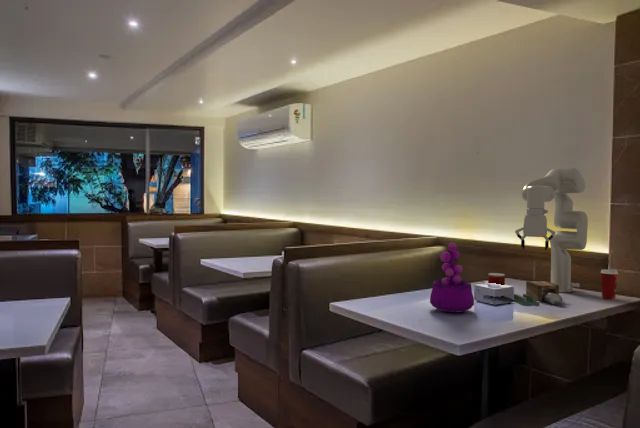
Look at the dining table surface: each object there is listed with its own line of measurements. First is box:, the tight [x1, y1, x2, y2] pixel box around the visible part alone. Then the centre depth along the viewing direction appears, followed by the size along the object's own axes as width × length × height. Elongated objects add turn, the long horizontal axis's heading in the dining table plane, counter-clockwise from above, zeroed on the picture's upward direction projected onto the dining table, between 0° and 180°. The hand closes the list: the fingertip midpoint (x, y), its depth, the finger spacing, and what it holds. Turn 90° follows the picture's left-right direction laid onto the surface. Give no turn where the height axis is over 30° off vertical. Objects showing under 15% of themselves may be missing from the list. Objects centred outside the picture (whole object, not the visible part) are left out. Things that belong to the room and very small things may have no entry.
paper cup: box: [599, 268, 619, 300], centre depth 244 cm, size 8×8×14 cm
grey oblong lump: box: [542, 289, 564, 306], centre depth 237 cm, size 15×5×5 cm, turn 3°
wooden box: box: [525, 280, 560, 302], centre depth 243 cm, size 10×12×8 cm
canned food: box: [487, 272, 506, 286], centre depth 251 cm, size 8×8×11 cm
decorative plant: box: [429, 242, 475, 313], centre depth 218 cm, size 19×18×30 cm
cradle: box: [513, 293, 540, 306], centre depth 235 cm, size 8×12×3 cm, turn 3°
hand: (534, 249), depth 232 cm, fingers open, 9 cm apart
